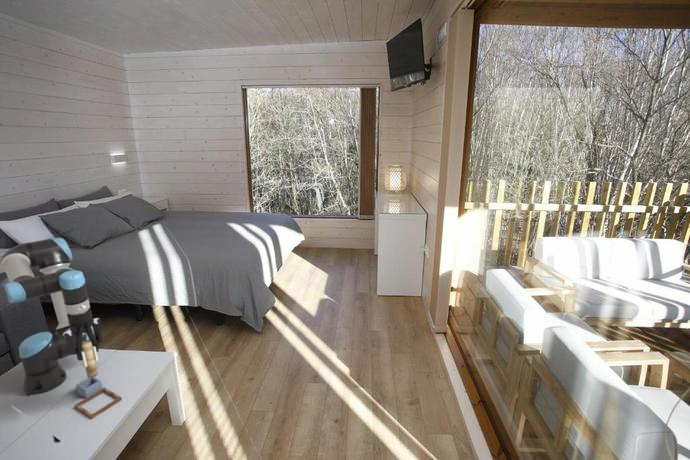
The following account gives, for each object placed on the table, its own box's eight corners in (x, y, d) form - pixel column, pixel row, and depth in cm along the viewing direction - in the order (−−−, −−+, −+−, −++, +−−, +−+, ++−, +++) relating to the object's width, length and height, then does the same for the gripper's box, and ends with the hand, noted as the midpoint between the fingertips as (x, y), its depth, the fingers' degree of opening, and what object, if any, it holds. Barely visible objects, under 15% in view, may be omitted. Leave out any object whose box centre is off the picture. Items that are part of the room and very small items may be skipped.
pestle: (85, 376, 151) (78, 343, 147) (94, 370, 154) (87, 339, 150) (90, 378, 149) (83, 346, 145) (99, 373, 152) (93, 341, 148)
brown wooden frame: (75, 409, 154) (74, 405, 153) (105, 391, 164) (104, 387, 163) (92, 420, 149) (91, 416, 148) (122, 401, 159) (121, 397, 158)
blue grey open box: (78, 395, 162) (76, 384, 160) (94, 385, 167) (92, 375, 166) (87, 400, 159) (85, 389, 157) (103, 390, 164) (101, 380, 163)
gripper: (59, 323, 134) (72, 378, 141) (106, 303, 148) (116, 354, 155) (48, 317, 138) (61, 371, 145) (95, 299, 152) (105, 349, 159)
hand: (90, 362), depth 150 cm, fingers closed on pestle, 3 cm apart
